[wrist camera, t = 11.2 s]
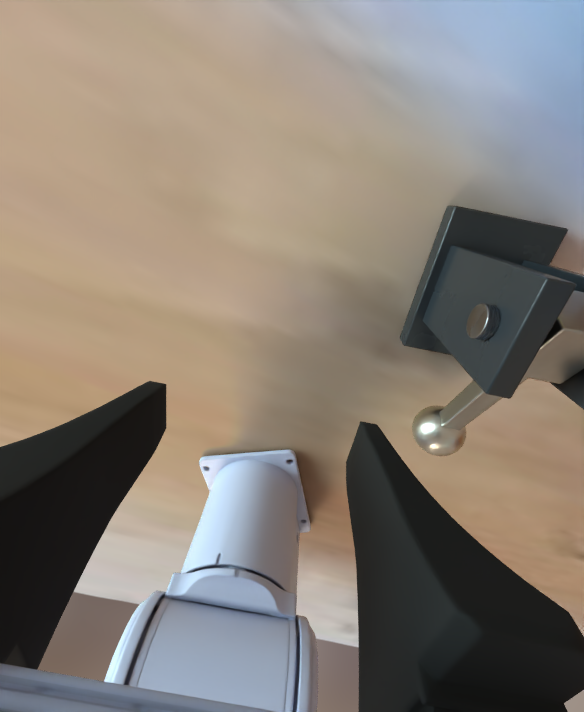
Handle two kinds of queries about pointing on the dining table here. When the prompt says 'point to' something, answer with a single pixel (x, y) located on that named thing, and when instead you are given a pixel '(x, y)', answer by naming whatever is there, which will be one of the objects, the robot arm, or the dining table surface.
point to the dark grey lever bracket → (492, 298)
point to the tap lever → (552, 364)
